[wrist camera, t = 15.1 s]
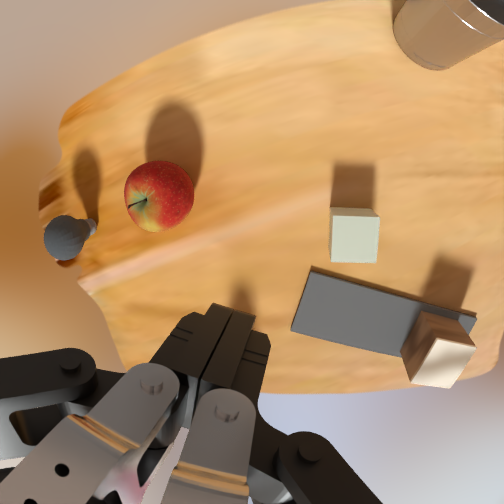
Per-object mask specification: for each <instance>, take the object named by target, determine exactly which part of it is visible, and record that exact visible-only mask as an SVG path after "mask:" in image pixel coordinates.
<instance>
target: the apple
mask: <svg viewBox="0 0 504 504" xmlns="http://www.w3.org/2000/svg"><path fill="white" fill-rule="evenodd" d="M124 197H125V203H126V207H127V210H128V212H129V214H130V216H131V218H132V220H133V221H134V222H135V223H136V224H137V225H138V226H139V227H140V228H142V229H144V230H147V231H150V232H163V231H167V230H169V229H172V228H174V227H175V226H177V225H178V224H180V223H181V222H182V221H183V220H184V219H185V218H186V217H187V216H188V214H189V212H190V211H191V208H192V206H193V202H194V189H193V185H192V182H191V179H190V177H189V176H188V174H187V173H186V172H185V171H184V170H183V169H182V168H181V167H179V166H178V165H176V164H173V163H171V162H166V161H152V162H148V163H145V164H143V165H140V166H139V167H137V168H136V169H135V170H133V171H132V172H131V174H130V175H129V177H128V178H127V181H126V184H125V190H124Z"/></svg>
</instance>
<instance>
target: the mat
mask: <svg viewBox="0 0 504 504" xmlns="http://www.w3.org/2000/svg"><path fill="white" fill-rule="evenodd" d="M421 311H425V312H428V313H432V314H436V315H439V316H443V317H447V318H451V319H454V320H458V321H459V322H460V324H461V325H462V327H463V328H464V329H465V331H466V332H467V334H468V335H469V333H470V331H471V330H472V328H473V326H474V324H475V322H476V320H477V318H476V317H474V316H470V315H467V314H463V313H460V312H456V311H453V310H449V309H445V308H442V307H438V306H435V305H431V304H428V303H424V302H421V301H417V300H413V299H410V298H406V297H403V296H399V295H396V294H392V293H389V292H385V291H381V290H378V289H374V288H371V287H367V286H364V285H360V284H357V283H353V282H350V281H346V280H343V279H339V278H335V277H332V276H328V275H325V274H321V273H318V272H314V271H310V274H309V277H308V280H307V283H306V286H305V289H304V292H303V295H302V298H301V301H300V304H299V307H298V310H297V313H296V315H295V318H294V321H293V324H292V327H291V331H292V332H296V333H300V334H304V335H307V336H311V337H315V338H319V339H323V340H327V341H331V342H335V343H339V344H343V345H347V346H352V347H356V348H360V349H364V350H369V351H373V352H378V353H383V354H387V355H392V356H397V357H402V356H401V353H400V350H401V348H402V347H403V345H404V343H405V341H406V339H407V337H408V336H409V334H410V332H411V330H412V328H413V326H414V324H415V322H416V320H417V318H418V316H419V314H420V312H421Z"/></svg>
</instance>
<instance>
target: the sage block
mask: <svg viewBox="0 0 504 504" xmlns="http://www.w3.org/2000/svg"><path fill="white" fill-rule="evenodd" d="M379 225H380V217H379V216H378V215H377V214H376V213H375V212H374V211H373V210H372V209H369V208H343V207H330V221H329V254H330V259H331V262H352V263H376V259H377V249H378V238H379Z"/></svg>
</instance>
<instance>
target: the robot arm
mask: <svg viewBox="0 0 504 504" xmlns="http://www.w3.org/2000/svg"><path fill="white" fill-rule="evenodd" d="M393 29H394V35H395V38H396V41H397V43H398V45H399V46H400V48H401V49H402V50H403V52H404V53H405V54H406V55H407V56H408V57H409V58H410V59H411V60H413V61H414V62H415V63H417V64H419V65H421V66H422V67H425V68H428V69H431V70H445V69H447V68H450V67H452V66H453V65H455V64H457V63H459V62H461V61H463V60H465V59H467V58H468V57H470V56H472V55H474V54H476V53H478V52H480V51H482V50H484V49H486V48H487V47H489V46H491V45H493V44H495V43H497V42H499V41H501V40H503V39H504V0H407V1H406V2H405V4H404V5H403V7H402V8H401V10H400V11H399V13H398V14H397V16H396V18H395V20H394V25H393ZM255 318H256V316H255V315H252V314H248V313H245V312H242V311H238V310H235V311H234V309H232V308H228V307H225V306H222V305H219V304H216V303H212V305H211V306H210V308H209V309H208V311H207V312H206V314H205V315H202V314H199V313H196V312H192V313H190V314H188V315H186V316H184V317H182V319H181V320H180V321H179V323H178V324H177V325H176V327H175V328H174V329H173V331H172V332H171V333H170V336H168V337H167V339H166V340H165V341H164V343H163V344H162V345H161V347H160V348H159V349H158V351H157V352H156V353H155V355H154V356H153V357H152V359H151V360H150V361H149V363H142V364H138V365H136V366H134V367H132V368H131V369H130V370H128V371H127V373H117V372H111V371H106V370H101V369H96V364H95V361H94V359H93V358H92V357H91V355H89V354H88V353H86V352H85V351H83V350H80V349H76V348H65V349H59V350H53V351H47V352H41V353H35V354H28V355H21V356H15V357H8V358H1V359H0V460H6V459H13V458H20V457H25V458H24V459H23V461H21V462H20V464H18V465H17V466H16V467H11V468H4V469H0V504H141V502H142V499H143V495H144V493H145V490H146V489H147V487H148V486H149V484H150V483H151V481H152V479H153V478H154V476H155V475H156V473H157V471H158V470H159V468H160V466H161V465H162V463H163V462H164V460H165V458H166V457H167V455H168V454H169V452H170V450H171V448H172V447H173V445H174V440H175V439H176V436H177V435H178V432H179V431H180V428H181V426H182V427H184V428H187V429H189V432H188V435H187V438H186V441H185V444H184V447H183V450H182V452H181V456H180V459H179V461H178V464H177V466H175V467H174V469H173V471H172V473H171V476H170V479H169V481H168V484H167V487H166V490H165V493H164V496H163V499H162V501H161V504H248V497H249V496H250V497H251V498H252V501H253V504H383V503H382V502H381V501H380V500H379V499H378V498H377V497H376V496H375V494H373V492H372V491H371V490H370V489H369V488H368V487H367V486H366V484H365V483H364V482H363V481H362V480H361V479H360V478H359V476H358V475H357V474H356V473H355V472H354V470H353V469H352V468H351V467H350V466H349V465H348V463H347V462H346V461H345V460H344V459H343V458H342V456H341V455H340V454H339V453H338V452H337V450H336V449H335V448H334V447H333V445H332V444H331V443H330V442H329V441H328V440H327V439H325V438H324V437H322V436H320V435H318V434H316V433H312V432H304V431H303V432H296V433H292V434H290V435H286V434H284V433H282V432H281V431H279V430H277V429H275V428H273V427H272V426H270V425H269V424H268V423H267V422H266V421H265V420H264V419H263V418H262V417H261V415H260V413H259V410H258V404H257V403H258V398H259V394H260V390H261V386H262V382H263V377H264V373H265V369H266V365H267V361H268V356H269V352H270V348H271V344H270V341H269V338H268V336H267V334H264V333H261V332H257V331H254V330H252V329H253V325H254V322H255ZM53 404H54V405H53ZM48 405H49V406H48ZM37 407H38V408H37ZM31 408H32V409H31ZM25 409H26V410H25Z"/></svg>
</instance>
